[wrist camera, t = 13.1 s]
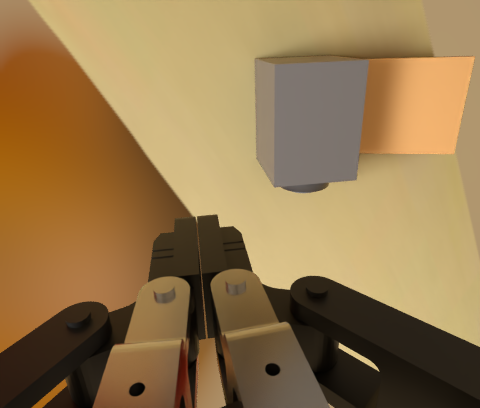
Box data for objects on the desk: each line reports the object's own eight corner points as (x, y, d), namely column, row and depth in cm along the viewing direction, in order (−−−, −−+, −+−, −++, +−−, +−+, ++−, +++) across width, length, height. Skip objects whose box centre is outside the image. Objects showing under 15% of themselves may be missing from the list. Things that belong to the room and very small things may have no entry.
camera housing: (254, 58, 42) (274, 64, 33) (329, 55, 43) (369, 59, 34) (256, 174, 48) (274, 205, 39) (322, 168, 49) (354, 198, 40)
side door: (337, 60, 42) (475, 56, 40) (335, 59, 43) (468, 55, 41) (330, 152, 46) (454, 154, 44) (329, 148, 48) (448, 149, 46)
